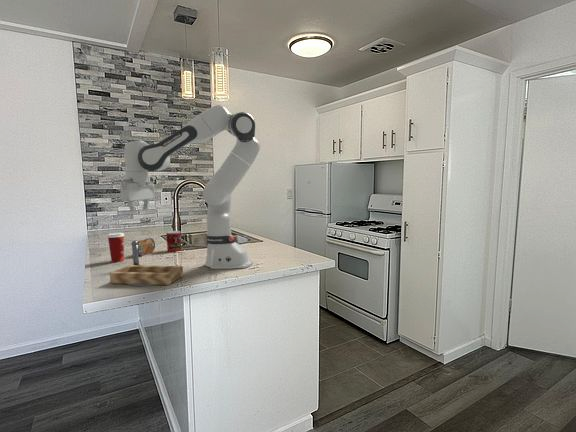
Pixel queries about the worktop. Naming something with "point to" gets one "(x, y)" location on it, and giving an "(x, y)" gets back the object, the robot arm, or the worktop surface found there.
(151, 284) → the slate mat
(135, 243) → the grey metal rod
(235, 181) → the robot arm
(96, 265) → the worktop surface
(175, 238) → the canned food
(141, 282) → the oak link
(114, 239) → the paper cup
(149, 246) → the tin
